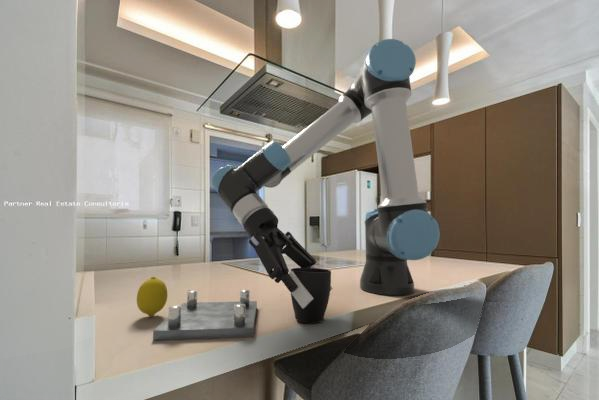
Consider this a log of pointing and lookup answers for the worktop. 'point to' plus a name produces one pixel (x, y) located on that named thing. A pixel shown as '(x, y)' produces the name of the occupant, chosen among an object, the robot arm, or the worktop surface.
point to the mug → (313, 294)
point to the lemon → (152, 296)
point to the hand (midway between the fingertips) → (318, 297)
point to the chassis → (208, 319)
